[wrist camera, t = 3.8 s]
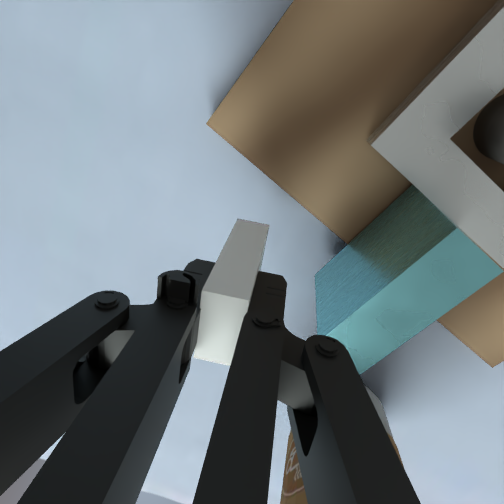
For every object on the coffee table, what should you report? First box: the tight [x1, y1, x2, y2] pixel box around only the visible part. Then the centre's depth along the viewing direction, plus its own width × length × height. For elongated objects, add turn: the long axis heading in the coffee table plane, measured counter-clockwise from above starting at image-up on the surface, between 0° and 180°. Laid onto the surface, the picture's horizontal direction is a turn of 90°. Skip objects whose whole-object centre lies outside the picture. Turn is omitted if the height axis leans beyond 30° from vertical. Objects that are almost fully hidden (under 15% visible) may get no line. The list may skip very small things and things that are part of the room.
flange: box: [315, 0, 504, 374], centre depth 15 cm, size 9×16×6 cm, turn 141°
